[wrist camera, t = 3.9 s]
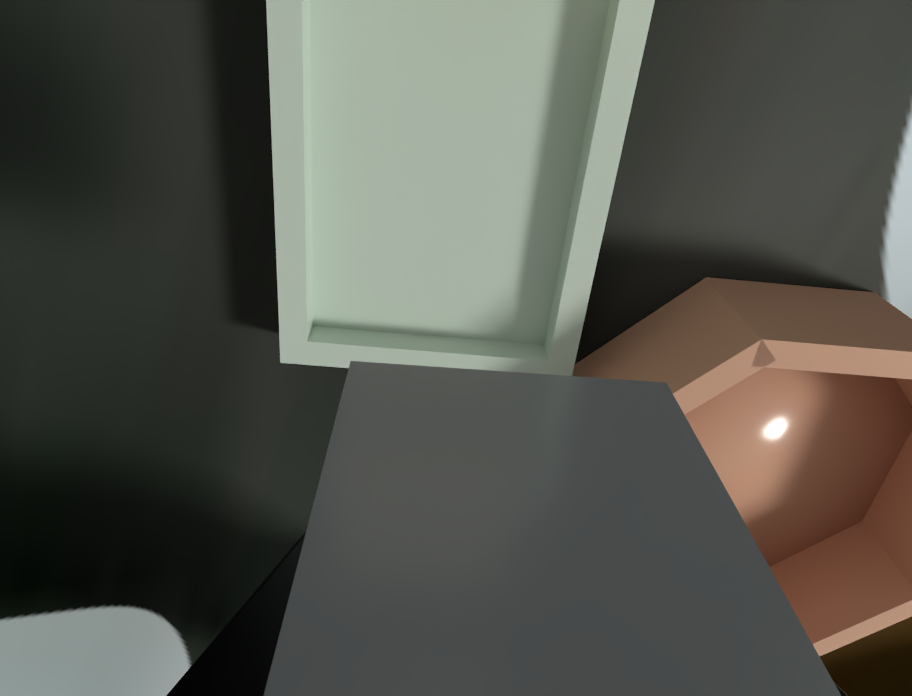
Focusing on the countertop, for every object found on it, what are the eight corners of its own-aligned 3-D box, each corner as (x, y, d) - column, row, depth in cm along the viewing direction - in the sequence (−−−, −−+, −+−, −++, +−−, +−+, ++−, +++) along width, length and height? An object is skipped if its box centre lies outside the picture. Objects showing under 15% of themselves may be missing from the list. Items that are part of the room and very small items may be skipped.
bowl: (831, 585, 27) (889, 675, 23) (520, 566, 26) (532, 657, 22) (988, 302, 20) (1101, 367, 17) (584, 266, 20) (614, 326, 16)
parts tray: (561, 358, 21) (569, 385, 20) (291, 337, 21) (280, 362, 19) (708, -343, 13) (738, -382, 12) (270, -407, 13) (247, -457, 11)
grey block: (603, 596, 11) (717, 1040, 7) (348, 584, 11) (273, 1034, 6) (666, 382, 9) (905, 810, 4) (350, 360, 9) (239, 789, 4)
